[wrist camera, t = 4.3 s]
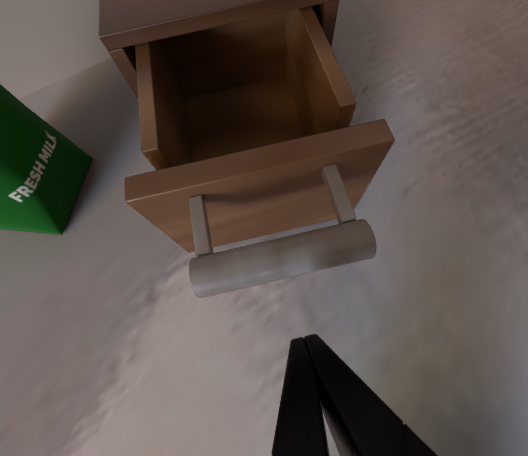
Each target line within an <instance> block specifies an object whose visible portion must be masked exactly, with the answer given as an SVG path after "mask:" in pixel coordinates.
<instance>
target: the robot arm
mask: <svg viewBox="0 0 528 456" xmlns="http://www.w3.org/2000/svg"><path fill="white" fill-rule="evenodd" d="M321 407H322V408H321ZM322 410H323V413H324V416H325V419H326V421H327V424H328V427H329V429H330V432H331V434H332V437H333V439H334V442H335V444H336V447H337V449H338V452H339V454H340V456H438V455H437V454H436V453H435V452H434V451H432V450H431V449H430V448H429V447H428V446H427V445H426V444H425V443H424V442H423V441H422V440H421V439H420V438H419V437H418V436H417V435H416V434H415V433H414V432H413V431H412V430H411V429H410V428H409V427H408V426H407V425H406V424H403V421H402V420H401V419H400V418H399V417H398V416H397V415H396V414H395V413H394V412H393V411H392V410H391V409H390V408H389V407H388V406H387V405H386V404H385V403H384V402H383V401H382V400H381V399H380V398H379V397H378V396H377V395H376V394H375V393H374V392H373V391H372V390H371V389H370V388H369V387H368V386H367V385H366V384H365V383H364V382H363V381H362V380H361V379H360V378H359V377H358V376H357V375H356V374H355V373H354V372H353V371H352V370H351V369H350V368H349V367H348V366H347V365H346V363H345V362H344V361H343V360H342V359H341V358H340V357H339V356H338V355H337V354H336V353H335V352H334V351H333V350H332V349H331V348H330V347H329V346H328V345H327V344H326V343H325V342H324V341H323V340H322V339H321V338H320V337H319V336H318V335H316V334H312V335H308V336H305V337H304V338H303V337H300V338H295V339H292V340H291V343H290V349H289V354H288V360H287V366H286V372H285V378H284V384H283V389H282V395H281V401H280V407H279V413H278V419H277V425H276V430H275V436H274V442H273V448H272V456H330V455H329V448H328V442H327V436H326V430H325V424H324V419H323V413H322Z"/></svg>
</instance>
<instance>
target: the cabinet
mask: <svg viewBox="0 0 528 456" xmlns="http://www.w3.org/2000/svg"><path fill="white" fill-rule="evenodd" d="M338 4H339V0H99V37H100V39H101V41H102V42H103V44H104V45H105V47H106V48H107V50H108V51H109V54H110V55H111V57H112V58H113V60H114V62H115V63H116V65H117V66H118V68H119V69H120V71H121V73H122V74H123V76H124V77H125V79H126V80H127V82H128V84H129V85H130V87H131V88H132V90H133V91H134V93H135V95H136V96H137V98H138V84H137V67H136V50H135V45H137V44H142V43H146V42H151V41H155V40H160V39H164V38H169V37H173V36H178V35H182V34H187V33H191V32H196V31H200V30H205V29H210V28H214V27H219V26H223V25H228V24H232V23H237V22H241V21H246V20H250V19H255V18H259V17H264V16H268V15H273V14H277V13H282V12H286V11H291V10H295V9H300V8H304V7H309V6H312V8H313V10H314V12H315V14H316V16H317V19H318V21H319V23H320V25H321V27H322V29H323V31H324V34H325V36H326V38H327V40H328V42H329V44H330V47H331V46H332V40H333V34H334V28H335V22H336V16H337V10H338Z"/></svg>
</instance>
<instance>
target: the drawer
mask: <svg viewBox="0 0 528 456" xmlns="http://www.w3.org/2000/svg"><path fill="white" fill-rule="evenodd" d="M135 50H136V67H137V84H138V101H139V118H140V135H141V151H142V153H143V154H144V155H145V157H146V158H147V159H148V160H149V162H150V163H151V164H152V165H153V167H154V168H155V169H156V170H157V171H153V172H148V173H144V174H140V175H135V176H131V177H126V178H125V202H126V203H127V204H129V205H130V206H131V207H132V208H134V209H135V210H136V211H137V212H139V213H140V214H141V215H142V216H144V217H145V218H146V219H147V220H149V221H150V222H151V223H152V224H154V225H155V226H156V227H157V228H159V229H160V230H161V231H162V232H164V233H165V234H166V235H167V236H169V237H170V238H171V239H172V240H174V241H175V242H176V243H177V244H179V245H180V246H181V247H183V248H184V249H185V250H186V251H188V252H189V253H190V252H194V251H196V256H197V257H196V258H192V259H191V260H190V263H189V276H190V282H191V286H192V289H193V291H194V293H195V295H196V296H197V297H198V298H204V297H208V296H213V295H217V294H221V293H225V292H230V291H234V290H238V289H242V288H247V287H251V286H255V285H260V284H264V283H268V282H272V281H277V280H281V279H285V278H289V277H294V276H298V275H302V274H306V273H311V272H315V271H319V270H324V269H328V268H332V267H336V266H341V265H345V264H349V263H353V262H358V261H362V260H366V259H371V258H373V257H374V256H375V254H376V241H375V237H374V233H373V231H372V229H371V227H370V225H369V224H368V222H367V221H366V220H364V219H359V220H356V215H355V213H354V209H355V207H356V205H357V204H358V202H359V200H360V199H361V197H362V195H363V194H364V192H365V190H366V188H367V187H368V185H369V183H370V182H371V180H372V178H373V177H374V175H375V173H376V171H377V170H378V168H379V166H380V165H381V163H382V161H383V160H384V158H385V156H386V154H387V153H388V151H389V149H390V148H391V146H392V144H393V143H394V141H395V139H394V137H393V135H392V133H391V131H390V129H389V127H388V125H387V123H386V121H385V119H381V120H377V121H372V122H368V123H363V124H359V125H355V126H350V127H349V125H350V122H351V119H352V116H353V112H354V109H355V106H356V101H355V98H354V96H353V94H352V92H351V90H350V88H349V86H348V83H347V81H346V79H345V77H344V75H343V73H342V70H341V68H340V66H339V64H338V62H337V60H336V57H335V55H334V53H333V51H332V49H331V47H330V44H329V42H328V40H327V38H326V36H325V34H324V31H323V29H322V27H321V25H320V23H319V21H318V19H317V16H316V14H315V12H314V10H313V8H312V6H309V7H304V8H300V9H295V10H291V11H286V12H282V13H277V14H273V15H268V16H264V17H259V18H255V19H250V20H246V21H241V22H237V23H232V24H228V25H223V26H219V27H214V28H210V29H205V30H200V31H196V32H191V33H187V34H182V35H178V36H173V37H169V38H164V39H160V40H155V41H151V42H146V43H142V44H137V45H135ZM336 218H337V219H338V222H339V224H338V225H334V226H329V227H325V228H321V229H316V230H312V231H308V232H303V233H299V234H295V235H290V236H286V237H282V238H278V239H273V240H269V241H265V242H260V243H256V244H252V245H247V246H243V247H239V248H234V249H230V250H226V251H222V252H217V253H213V248H212V247H216V246H220V245H224V244H229V243H233V242H237V241H241V240H246V239H250V238H254V237H259V236H263V235H267V234H272V233H276V232H280V231H285V230H289V229H293V228H298V227H302V226H306V225H310V224H315V223H319V222H323V221H328V220H332V219H336Z"/></svg>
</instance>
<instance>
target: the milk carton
mask: <svg viewBox="0 0 528 456" xmlns="http://www.w3.org/2000/svg"><path fill="white" fill-rule="evenodd" d="M91 161H92V158H91V157H90V156H89V155H87V154H86V153H85V152H84V151H82V150H81V149H80V148H79V147H77V146H76V145H75V144H73V143H72V142H71V141H70V140H68V139H67V138H66V137H64V136H63V135H62V134H61V133H59V132H58V131H57V130H55V129H54V128H53V127H52V126H50V125H49V124H48V123H47V122H45V121H44V120H43V119H41V118H40V117H39V116H38V115H36V114H35V113H34V112H32V111H31V110H30V109H29V108H27V107H26V106H25V105H24V104H23V103H21V102H20V101H19V100H18V99H17V98H15V97H14V96H13V95H12V94H11V93H10V92H9V91H7V90H6V89H5V88H4V87H3V86H2V85H0V229H5V230H16V231H27V232H38V233H49V234H60V235H62V233H63V231H64V228H65V226H66V223H67V221H68V218H69V216H70V213H71V211H72V208H73V206H74V203H75V201H76V198H77V196H78V193H79V191H80V188H81V186H82V183H83V181H84V178H85V176H86V173H87V171H88V168H89V166H90V163H91Z"/></svg>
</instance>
